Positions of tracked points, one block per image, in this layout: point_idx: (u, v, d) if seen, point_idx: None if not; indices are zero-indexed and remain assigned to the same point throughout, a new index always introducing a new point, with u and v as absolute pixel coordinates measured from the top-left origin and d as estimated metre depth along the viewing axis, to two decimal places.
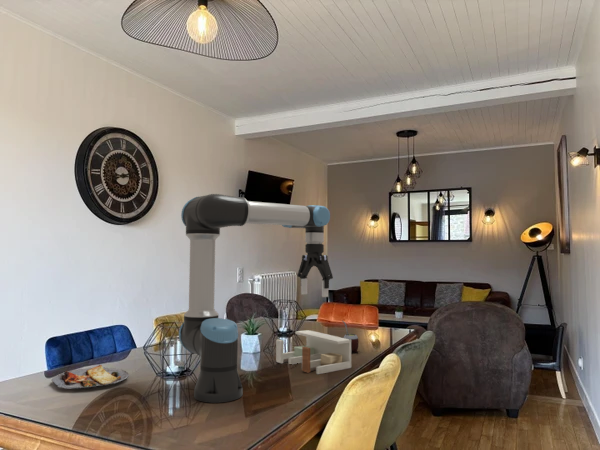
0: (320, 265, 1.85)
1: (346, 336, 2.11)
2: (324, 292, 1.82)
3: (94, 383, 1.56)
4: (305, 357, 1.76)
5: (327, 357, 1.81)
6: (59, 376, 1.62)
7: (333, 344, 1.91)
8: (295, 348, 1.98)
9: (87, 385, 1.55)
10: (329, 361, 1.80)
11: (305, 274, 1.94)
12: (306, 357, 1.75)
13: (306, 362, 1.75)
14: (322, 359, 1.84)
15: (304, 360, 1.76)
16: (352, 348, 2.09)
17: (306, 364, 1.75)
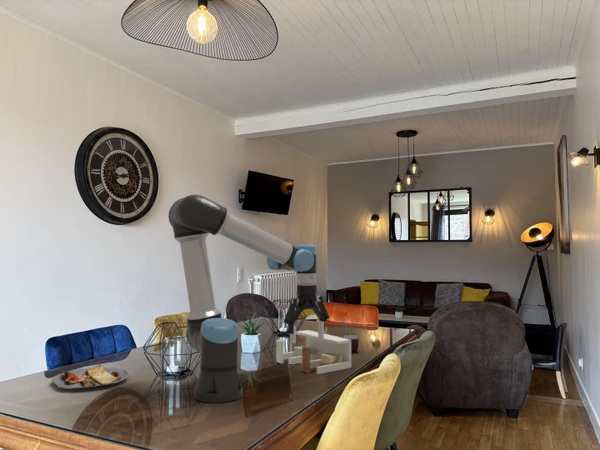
0: (297, 308, 1.75)
1: (346, 336, 2.11)
2: (291, 337, 1.73)
3: (94, 383, 1.56)
4: (305, 357, 1.76)
5: (327, 357, 1.81)
6: (59, 376, 1.62)
7: (333, 344, 1.91)
8: (295, 348, 1.98)
9: (87, 385, 1.55)
10: (329, 361, 1.80)
11: (319, 316, 1.81)
12: (306, 357, 1.76)
13: (306, 362, 1.75)
14: (322, 359, 1.84)
15: (304, 360, 1.76)
16: (352, 348, 2.09)
17: (306, 364, 1.75)
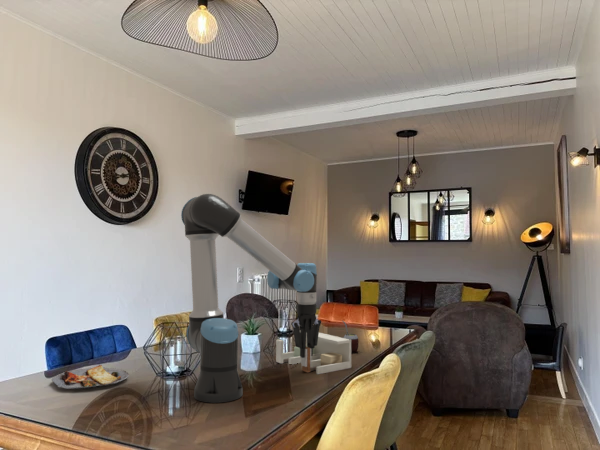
0: (301, 330, 1.76)
1: (346, 336, 2.11)
2: (302, 361, 1.76)
3: (94, 383, 1.56)
4: None
5: (327, 357, 1.81)
6: (59, 376, 1.62)
7: (333, 344, 1.91)
8: (295, 348, 1.98)
9: (87, 385, 1.55)
10: (329, 360, 1.80)
11: (308, 341, 1.78)
12: None
13: None
14: (322, 359, 1.84)
15: None
16: (352, 348, 2.09)
17: None
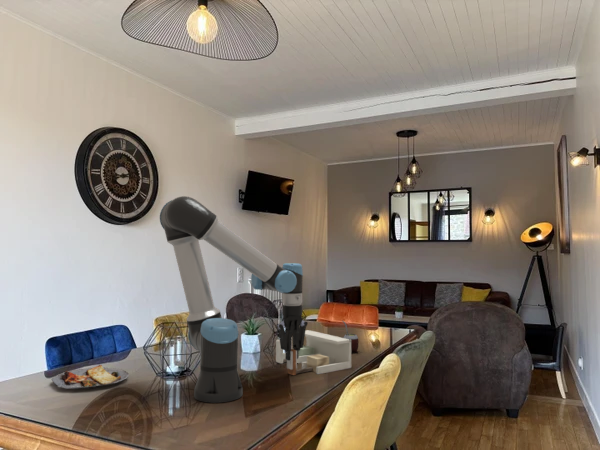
0: (287, 332, 1.72)
1: (346, 336, 2.11)
2: (288, 363, 1.72)
3: (94, 383, 1.56)
4: None
5: (313, 359, 1.78)
6: (59, 376, 1.62)
7: (333, 344, 1.91)
8: None
9: (87, 385, 1.55)
10: (315, 363, 1.76)
11: (294, 343, 1.74)
12: None
13: None
14: (308, 361, 1.80)
15: None
16: (352, 348, 2.09)
17: None
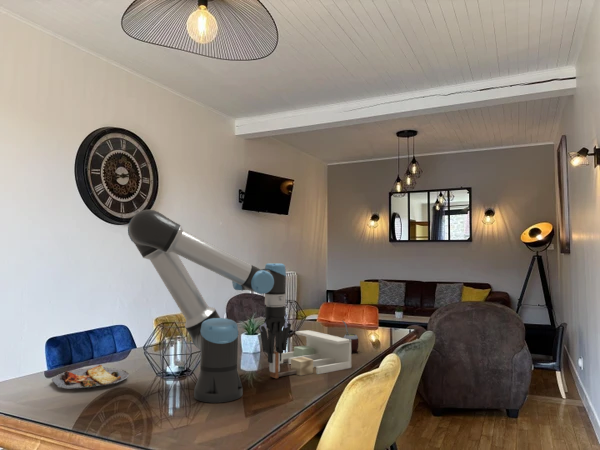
0: (269, 334, 1.67)
1: (346, 336, 2.11)
2: (270, 366, 1.68)
3: (94, 383, 1.56)
4: None
5: (297, 362, 1.73)
6: (59, 376, 1.62)
7: (333, 344, 1.91)
8: (295, 348, 1.98)
9: (87, 385, 1.55)
10: (299, 365, 1.72)
11: (277, 345, 1.69)
12: None
13: None
14: (292, 364, 1.75)
15: None
16: (352, 348, 2.09)
17: None
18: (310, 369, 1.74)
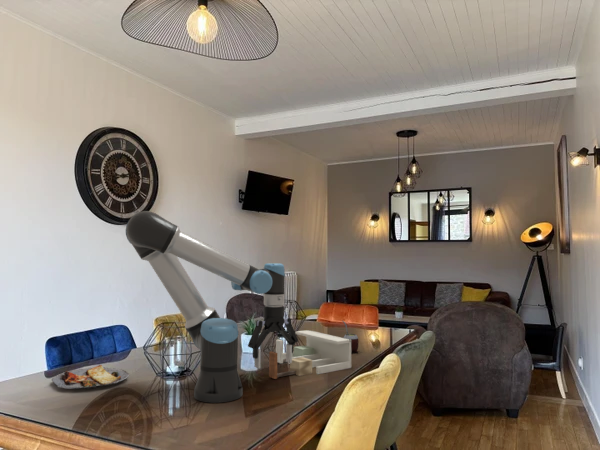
0: (263, 331, 1.66)
1: (346, 336, 2.11)
2: (255, 362, 1.64)
3: (94, 383, 1.56)
4: (272, 362, 1.67)
5: (296, 362, 1.73)
6: (59, 376, 1.62)
7: (333, 344, 1.91)
8: (295, 348, 1.98)
9: (87, 385, 1.55)
10: (298, 366, 1.71)
11: (287, 339, 1.72)
12: (273, 362, 1.67)
13: (273, 368, 1.67)
14: (291, 364, 1.75)
15: (271, 366, 1.67)
16: (352, 348, 2.09)
17: (273, 370, 1.66)
18: (309, 369, 1.74)
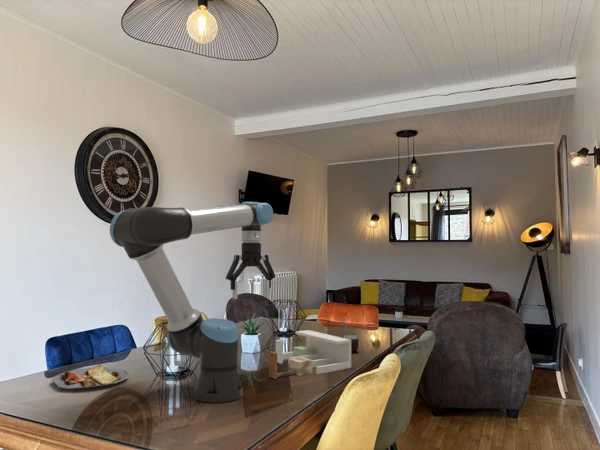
0: (241, 265, 1.76)
1: (346, 336, 2.11)
2: (233, 293, 1.74)
3: (94, 383, 1.56)
4: (272, 362, 1.67)
5: (296, 362, 1.73)
6: (59, 376, 1.62)
7: (333, 344, 1.91)
8: (294, 348, 1.98)
9: (87, 385, 1.55)
10: (298, 366, 1.71)
11: (264, 275, 1.81)
12: (273, 362, 1.67)
13: (273, 368, 1.67)
14: (291, 364, 1.75)
15: (271, 366, 1.67)
16: (352, 348, 2.09)
17: (273, 370, 1.66)
18: (309, 369, 1.74)
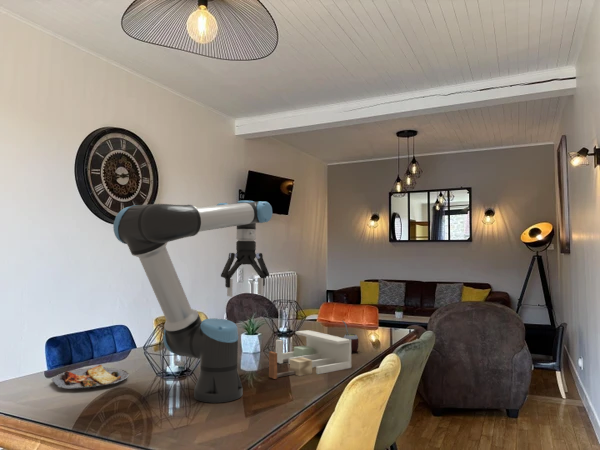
0: (236, 263, 1.77)
1: (346, 336, 2.11)
2: (228, 291, 1.75)
3: (94, 383, 1.56)
4: (272, 362, 1.67)
5: (296, 362, 1.72)
6: (59, 376, 1.62)
7: (333, 344, 1.91)
8: (294, 348, 1.98)
9: (87, 385, 1.55)
10: (298, 366, 1.71)
11: (258, 273, 1.83)
12: (273, 362, 1.67)
13: (273, 368, 1.67)
14: (291, 364, 1.75)
15: (271, 366, 1.67)
16: (352, 348, 2.09)
17: (273, 370, 1.66)
18: (309, 369, 1.74)
